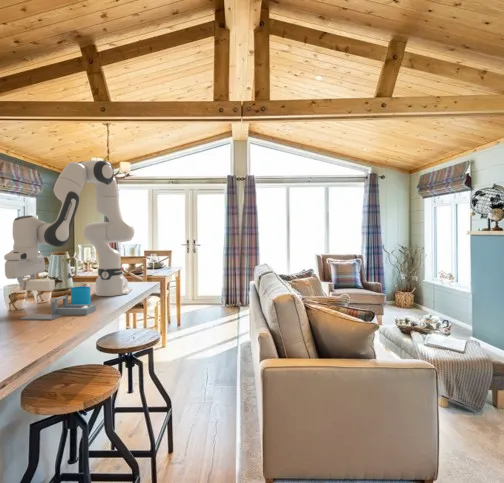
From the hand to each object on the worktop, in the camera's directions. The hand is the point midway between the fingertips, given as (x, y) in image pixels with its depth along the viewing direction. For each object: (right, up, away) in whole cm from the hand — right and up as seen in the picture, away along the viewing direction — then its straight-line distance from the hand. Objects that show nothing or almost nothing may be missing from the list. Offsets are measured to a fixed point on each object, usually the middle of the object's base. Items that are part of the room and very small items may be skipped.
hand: (27, 285), depth 152 cm
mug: (+17, -11, +15) cm, 25 cm away
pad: (+12, -12, -10) cm, 19 cm away
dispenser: (+21, -11, -1) cm, 24 cm away
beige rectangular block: (+4, -2, 0) cm, 5 cm away
